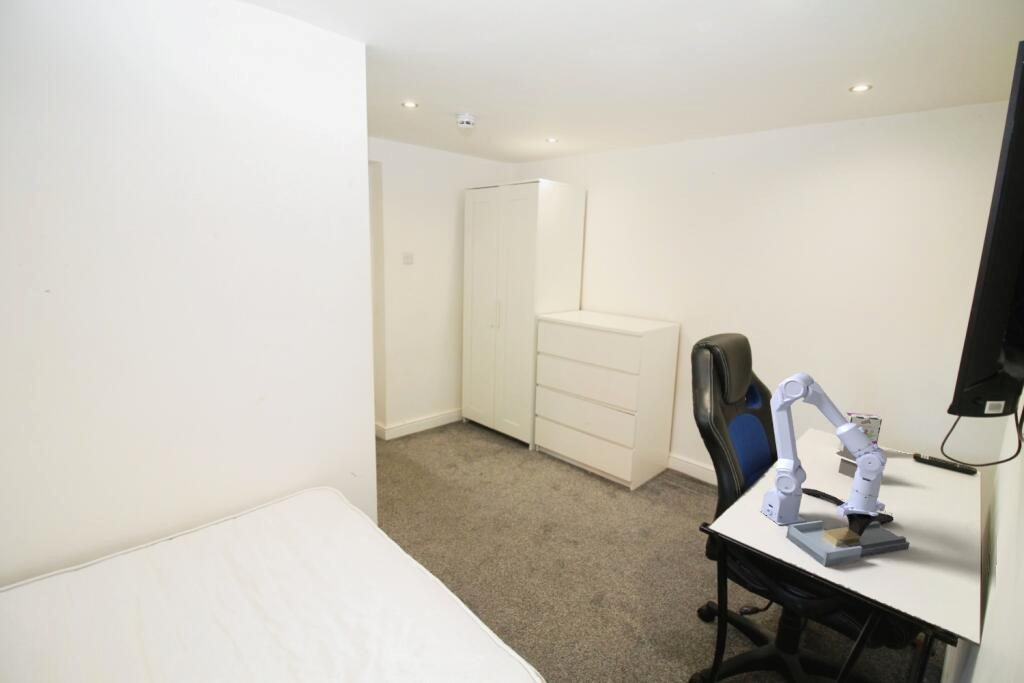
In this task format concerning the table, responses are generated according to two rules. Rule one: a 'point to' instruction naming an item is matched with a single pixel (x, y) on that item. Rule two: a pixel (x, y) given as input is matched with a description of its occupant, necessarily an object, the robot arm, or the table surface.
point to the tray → (821, 544)
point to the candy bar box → (865, 425)
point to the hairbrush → (880, 518)
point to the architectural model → (847, 462)
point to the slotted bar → (878, 540)
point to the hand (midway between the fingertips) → (854, 535)
